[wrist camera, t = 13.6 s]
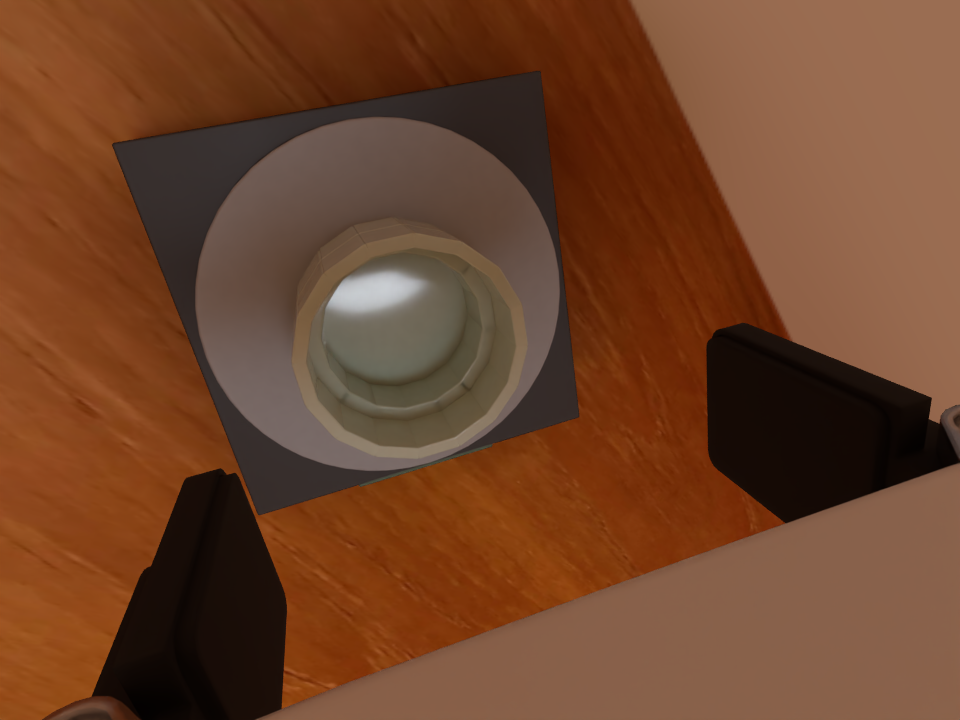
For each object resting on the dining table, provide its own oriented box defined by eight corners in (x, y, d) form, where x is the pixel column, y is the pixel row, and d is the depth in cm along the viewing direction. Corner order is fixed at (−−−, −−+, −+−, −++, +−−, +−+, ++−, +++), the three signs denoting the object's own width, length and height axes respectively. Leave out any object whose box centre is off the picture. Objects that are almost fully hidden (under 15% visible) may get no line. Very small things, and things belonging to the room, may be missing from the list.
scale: (512, 79, 23) (550, 67, 19) (554, 400, 28) (589, 435, 25) (136, 144, 20) (102, 143, 16) (266, 486, 26) (260, 538, 22)
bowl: (466, 198, 20) (509, 211, 16) (496, 373, 23) (539, 422, 19) (268, 240, 19) (259, 267, 15) (324, 421, 21) (330, 486, 17)
